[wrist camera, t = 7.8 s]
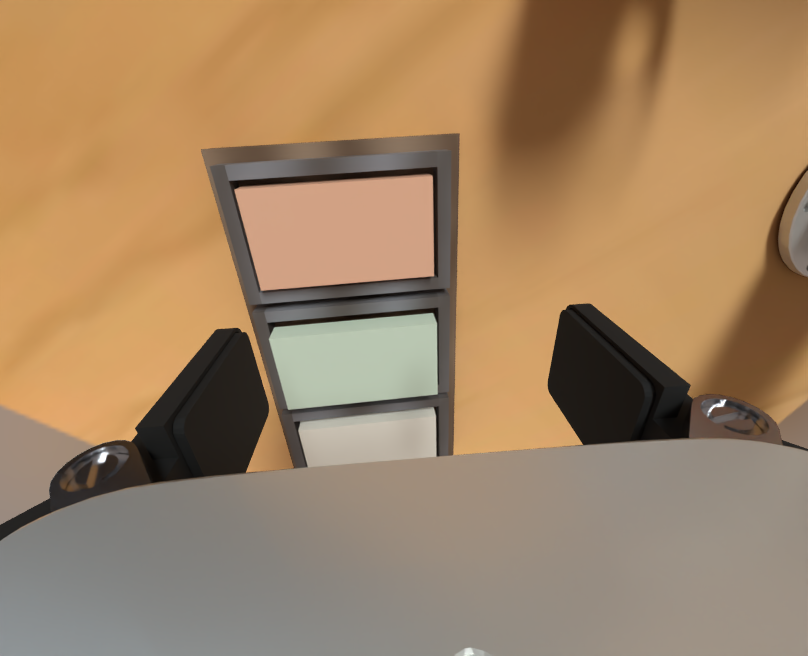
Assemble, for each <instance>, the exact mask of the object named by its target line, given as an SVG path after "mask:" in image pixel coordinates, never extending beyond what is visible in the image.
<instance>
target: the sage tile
mask: <svg viewBox="0 0 808 656" xmlns="http://www.w3.org/2000/svg"><path fill="white" fill-rule="evenodd" d="M269 341H270V345H271V349H272V352H273V356H274V360H275V363H276V367H277V371H278V374H279V378H280V382H281V385H282V389H283V393H284V396H285V400H286V404H287V407H288V410H292V409H302V408H311V407H321V406H331V405H340V404H350V403H360V402H369V401H379V400H388V399H398V398H408V397H417V396H427V395H437V394H438V382H437V322H436V320H435V317H434V314H433V313H427V314H416V315H405V316H394V317H383V318H372V319H361V320H350V321H339V322H328V323H317V324H306V325H295V326H284V327H274V329H273V331H272V333H271V336H270V338H269Z"/></svg>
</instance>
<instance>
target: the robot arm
mask: <svg viewBox="0 0 808 656" xmlns="http://www.w3.org/2000/svg"><path fill="white" fill-rule="evenodd" d="M778 244H779V252H780V255H781V257H782V260H783V262H784V263H785V264H786V265H787V266H788V268H789V269H790V270H792V271H794V272H796V273H797V274H799V275H802V276H806V277H808V170H807V172H806V173H805V174H804V175H803V177H802V179H801V180H800V182H799V183H798V185H797V186H796V188H795V189H794V191H793V193H792V195H791V197H790V199H789V201H788V203H787V205H786V207H785V209H784V213H783V216H782V219H781V222H780V227H779V234H778ZM690 386H691V385H690V384H688V383H687V382H686V381H685V380H683V379H682V378H681V377H680V376H679V375H677V374H676V373H675V372H674V371H672V370H671V369H670V368H669V367H668V366H666V365H665V364H664V363H663V362H661V361H660V360H659V359H658V358H656V357H655V356H654V355H653V354H652V353H650V352H649V351H648V350H647V349H645V348H644V347H643V346H642V345H641V344H639V343H638V342H637V341H636V340H634V339H633V338H632V337H631V336H629V335H628V334H627V333H626V332H625V331H623V330H622V329H621V328H620V327H618V326H617V325H616V324H615V323H614V322H612V321H611V320H610V319H609V318H607V317H606V316H605V315H604V314H602V313H601V312H600V311H599V310H598V309H596V308H595V307H594V306H593V305H591V304H575V305H569V306H567V308H566V310H563V311H562V312H561V314H560V318H559V324H558V329H557V334H556V340H555V345H554V351H553V356H552V362H551V367H550V373H549V378H548V390H549V393H550V394H551V396H552V398H553V399H554V401H555V402H556V404H557V405H558V407H559V408H560V410H561V411H562V413H563V414H564V416H565V417H566V419H567V421H568V422H569V424H570V425H571V427H572V428H573V430H574V431H575V433H576V434H577V436H578V437H579V439H580V440H581V442H582V444H583V445H576V446H563V447H550V448H537V449H525V450H513V451H500V452H488V453H476V454H464V455H452V456H440V457H427V458H415V459H403V460H391V461H378V462H366V463H354V464H341V465H329V466H318V467H306V468H295V469H283V470H272V471H260V472H249V473H246V470H247V468H248V465H249V463H250V460H251V457H252V455H253V452H254V450H255V447H256V445H257V442H258V440H259V437H260V434H261V432H262V429H263V427H264V424H265V422H266V419H267V417H268V413H269V405H268V401H267V397H266V394H265V390H264V387H263V384H262V380H261V377H260V374H259V370H258V367H257V364H256V360H255V357H254V353H253V350H252V347H251V343H250V340H249V337H248V335H247V333H246V332H241V330H240V329H239V328H229V329H217V330H216V331H215V332H214V333H213V334H212V335H211V337H210V338H209V339H208V340H207V341H206V343H205V344H204V345H203V346H202V347H201V349H200V350H199V351H198V352H197V354H196V355H195V356H194V357H193V358H192V360H191V361H190V362H189V363H188V365H187V366H186V367H185V368H184V369H183V371H182V372H181V373H180V374H179V375H178V377H177V378H176V379H175V380H174V382H173V383H172V384H171V385H170V386H169V388H168V389H167V390H166V391H165V393H164V394H163V395H162V396H161V397H160V399H159V400H158V401H157V402H156V403H155V405H154V406H153V407H152V408H151V410H150V411H149V412H148V413H147V414H146V416H145V417H144V418H143V419H142V420H141V422H140V423H139V424H138V425H137V427H136V428H135V429H136V431H137V433H138V434H137V435H136V436H135V438H134V439H133V440H132V441H131V442H130V441H126V440H116V441H111V442H106V443H103V444H100V445H97V446H95V447H92V448H90V449H88V450H86V451H84V452H83V453H81V454H79V455H77V456H76V457H74V458H73V459H72V460H70V461H69V462H67V463H66V464H65V465H64V466H63V467H62V468H61V469H60V470H59V471H58V472H57V473H56V475H55V476H54V478H53V479H52V481H51V483H50V488H49V494H50V499H48V500H46V501H44V502H42V503H41V504H38V505H37V506H35V507H33V508H31V509H29V510H27V511H25V512H24V513H22V514H20V515H18V516H16V517H14V518H12V519H11V520H9V521H7V522H5V523H3V524H1V525H0V656H808V449H806V448H803V447H800V446H797V445H794V444H791V443H789V442H786V441H783V440H782V439H781V435H780V430H779V428H778V426H777V424H776V422H775V421H774V420H773V419H772V418H771V417H770V416H769V415H768V414H766V413H765V412H763V411H762V410H760V409H759V408H757V407H755V406H753V405H751V404H749V403H747V402H744V401H741V400H738V399H736V398H733V397H728V396H723V395H716V394H705V395H700V396H698V397H696V398H694V400H693V399H692V398H691V397H690V396H689V395H688V394H687V393H688V390H689V388H690Z"/></svg>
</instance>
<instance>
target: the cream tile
mask: <svg viewBox="0 0 808 656" xmlns="http://www.w3.org/2000/svg"><path fill="white" fill-rule="evenodd" d="M298 432H299V435H300V439H301V443H302V447H303V450H304V454H305V458H306V462H307V465H308V467H318V466H329V465H341V464H354V463H366V462H378V461H391V460H403V459H415V458H427V457H436V415H435V411H434V407H428V408H418V409H409V410H399V411H390V412H380V413H371V414H362V415H352V416H343V417H333V418H324V419H314V420H305V421H300V426H299V430H298Z"/></svg>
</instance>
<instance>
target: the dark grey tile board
mask: <svg viewBox="0 0 808 656" xmlns="http://www.w3.org/2000/svg"><path fill="white" fill-rule="evenodd" d="M459 135H460V134H439V135H423V136H407V137H390V138H374V139H358V140H341V141H325V142H309V143H293V144H276V145H260V146H244V147H227V148H211V149H201V152H202V156H203V159H204V162H205V166H206V169H207V173H208V176H209V179H210V183H211V186H212V190H213V193H214V196H215V200H216V203H217V207H218V210H219V213H220V217H221V220H222V224H223V227H224V231H225V234H226V237H227V241H228V244H229V248H230V251H231V254H232V258H233V261H234V265H235V268H236V271H237V275H238V278H239V282H240V285H241V288H242V292H243V295H244V299H245V302H246V306H247V309H248V312H249V316H250V319H251V323H252V326H253V329H254V333H255V336H256V340H257V343H258V346H259V350H260V353H261V357H262V360H263V364H264V367H265V370H266V374H267V377H268V381H269V384H270V387H271V391H272V394H273V398H274V401H275V404H276V408H277V411H278V415H279V418H280V421H281V425H282V428H283V432H284V435H285V439H286V442H287V445H288V449H289V452H290V456H291V459H292V462H293V466H294V469H295V468H306V467H308V465H307V462H306V458H305V454H304V450H303V447H302V443H301V439H300V435H299V432H298V430H299V426H300V421H305V420H314V419H324V418H333V417H343V416H352V415H362V414H371V413H380V412H390V411H399V410H409V409H418V408H428V407H434V411H435V415H436V457H440V456H452V455H453V442H454V391H455V339H456V288H457V237H458V186H459ZM425 173H429V174H430V175H432V176H433V233H434V276H429V277H418V278H406V279H394V280H382V281H370V282H358V283H347V284H335V285H323V286H311V287H299V288H287V289H276V290H264V291H261V288H260V285H259V281H258V277H257V273H256V269H255V266H254V262H253V258H252V254H251V251H250V247H249V243H248V239H247V236H246V232H245V228H244V224H243V221H242V217H241V213H240V209H239V205H238V202H237V198H236V194H235V189H237V188H239V187H241V186H247V185H262V184H277V183H292V182H306V181H321V180H336V179H351V178H366V177H380V176H395V175H410V174H425ZM427 313H433V314H434V317H435V320H436V322H437V382H438V394H437V395H427V396H417V397H408V398H398V399H388V400H379V401H369V402H360V403H350V404H340V405H331V406H321V407H311V408H302V409H292V410H288V407H287V404H286V400H285V396H284V393H283V389H282V385H281V382H280V378H279V374H278V371H277V367H276V363H275V360H274V356H273V352H272V349H271V345H270V341H269V338H270V336H271V333H272V331H273V329H274V327H284V326H295V325H306V324H317V323H328V322H339V321H350V320H361V319H372V318H383V317H394V316H405V315H416V314H427Z"/></svg>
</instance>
